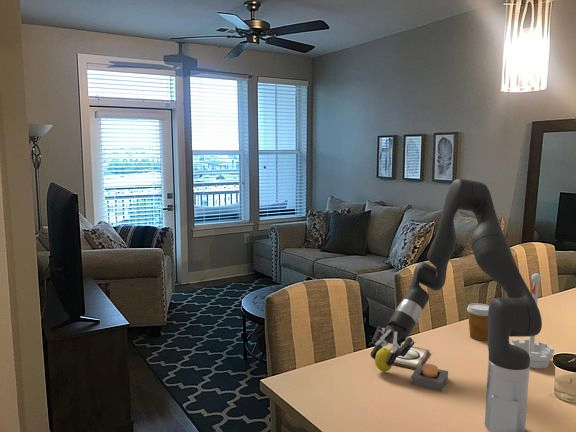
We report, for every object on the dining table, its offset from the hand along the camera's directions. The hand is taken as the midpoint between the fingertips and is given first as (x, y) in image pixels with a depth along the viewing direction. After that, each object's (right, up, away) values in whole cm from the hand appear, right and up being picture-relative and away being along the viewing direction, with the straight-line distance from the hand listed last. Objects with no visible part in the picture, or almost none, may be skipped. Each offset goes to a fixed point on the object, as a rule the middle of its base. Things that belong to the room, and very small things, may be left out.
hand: (380, 360), depth 146 cm
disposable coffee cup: (+44, -1, +32) cm, 54 cm away
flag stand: (+52, -4, +11) cm, 54 cm away
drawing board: (+11, -3, +13) cm, 18 cm away
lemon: (+1, -4, +2) cm, 5 cm away
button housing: (+14, -5, -4) cm, 16 cm away
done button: (+14, -3, -5) cm, 15 cm away
